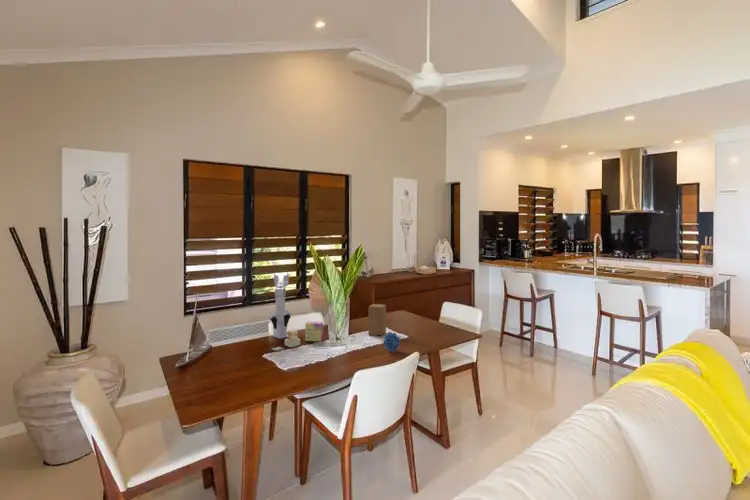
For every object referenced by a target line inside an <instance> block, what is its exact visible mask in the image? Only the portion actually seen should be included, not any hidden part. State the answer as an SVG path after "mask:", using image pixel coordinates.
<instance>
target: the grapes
mask: <svg viewBox="0 0 750 500" xmlns="http://www.w3.org/2000/svg"><path fill="white" fill-rule="evenodd" d="M383 336H384V340H383V343H382V344H383V345H384V348H385V350H388V351H389V352H391V353H393V352H394V351H397V350H398V347H400V345H401V344H400V343H401V342H400V337H399V336H398V335H397V332H391V331H389V332H388V333H387V334H384V335H383Z"/></svg>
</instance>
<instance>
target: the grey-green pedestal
mask: <svg viewBox="0 0 750 500" xmlns="http://www.w3.org/2000/svg"><path fill="white" fill-rule="evenodd" d="M298 345H299V346H301V339H300V338H298V339H296V340H292V341H291V340H289V339H288V338H285V339H284V346H285V347H289V348H294V347H299V346H298Z"/></svg>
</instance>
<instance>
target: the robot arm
mask: <svg viewBox="0 0 750 500" xmlns="http://www.w3.org/2000/svg"><path fill="white" fill-rule="evenodd" d="M289 277H290V274H289V272H274V273H273V281H274V282H273V283H274V286H275V289H274V300H275V311H274V312H273V314H269V319H270V322H271V323H272V326H273V327H272V328H273V329H272V330H273V331H272V332H273V335H272V337H274V338H277V339H279V340H280V339H284V338H285V339H286V338H288V323H289V321H290V319H291V315H292V311H288V310H287V309H286V287H287V286H289Z"/></svg>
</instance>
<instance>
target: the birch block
mask: <svg viewBox="0 0 750 500" xmlns="http://www.w3.org/2000/svg"><path fill="white" fill-rule="evenodd" d="M287 335H288V337H287V339H289V340H291V341H292V340H296V339H299V331H297V330H295V329H292V330H287Z"/></svg>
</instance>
